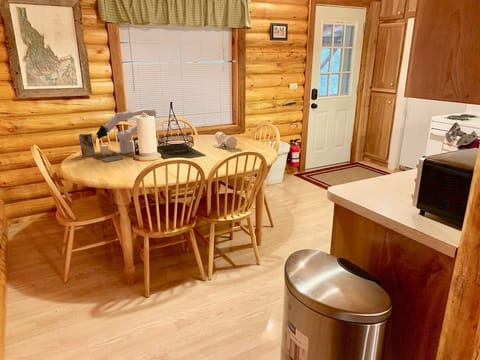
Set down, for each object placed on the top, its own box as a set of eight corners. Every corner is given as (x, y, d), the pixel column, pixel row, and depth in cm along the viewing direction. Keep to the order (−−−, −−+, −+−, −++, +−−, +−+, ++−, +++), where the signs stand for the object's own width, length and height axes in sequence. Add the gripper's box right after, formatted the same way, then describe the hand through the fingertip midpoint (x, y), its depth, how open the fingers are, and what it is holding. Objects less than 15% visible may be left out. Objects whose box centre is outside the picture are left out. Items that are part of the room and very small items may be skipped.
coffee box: (95, 153, 286) (92, 133, 281) (94, 155, 280) (91, 134, 275) (82, 154, 284) (79, 133, 278) (81, 156, 278) (78, 135, 272)
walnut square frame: (110, 152, 288) (110, 149, 287) (117, 155, 280) (117, 152, 279) (92, 156, 279) (92, 152, 278) (99, 159, 271) (99, 155, 270)
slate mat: (116, 156, 277) (116, 155, 277) (122, 159, 270) (122, 158, 270) (100, 159, 270) (100, 159, 269) (106, 162, 263) (106, 161, 262)
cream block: (106, 154, 282) (105, 144, 280) (109, 155, 279) (107, 145, 277) (101, 155, 280) (99, 145, 277) (103, 157, 277) (102, 146, 274)
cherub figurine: (224, 138, 287) (210, 131, 301) (224, 152, 292) (210, 145, 307) (237, 135, 294) (223, 128, 309) (237, 149, 300) (223, 142, 314)
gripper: (107, 123, 282) (93, 135, 278) (106, 117, 269) (92, 129, 264) (114, 130, 283) (101, 142, 278) (114, 124, 270) (100, 136, 265)
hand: (97, 136), depth 271 cm, fingers open, 7 cm apart
